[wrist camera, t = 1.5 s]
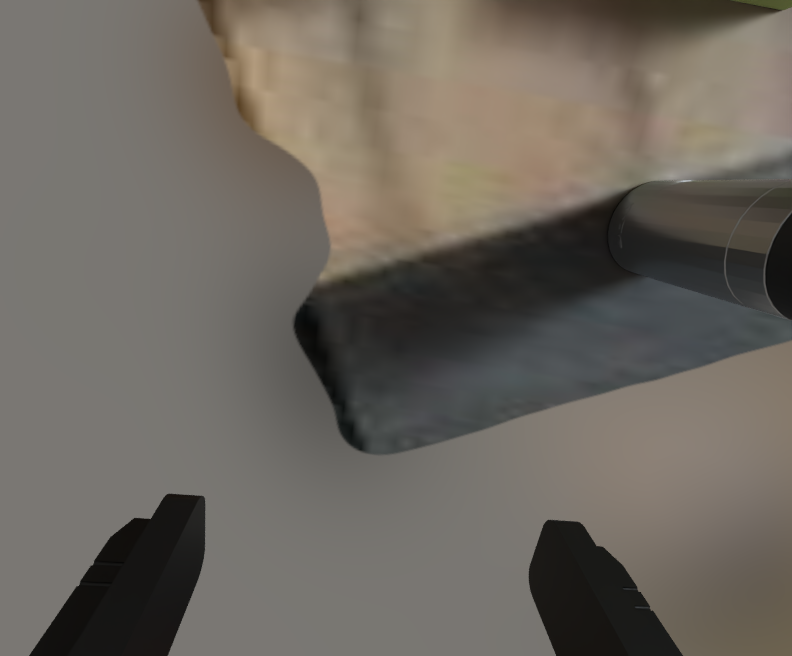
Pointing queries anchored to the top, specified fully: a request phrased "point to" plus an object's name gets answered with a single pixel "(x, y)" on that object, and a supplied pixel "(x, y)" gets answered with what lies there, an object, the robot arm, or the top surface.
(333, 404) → the top surface
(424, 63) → the top surface
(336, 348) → the top surface
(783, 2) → the protein box
